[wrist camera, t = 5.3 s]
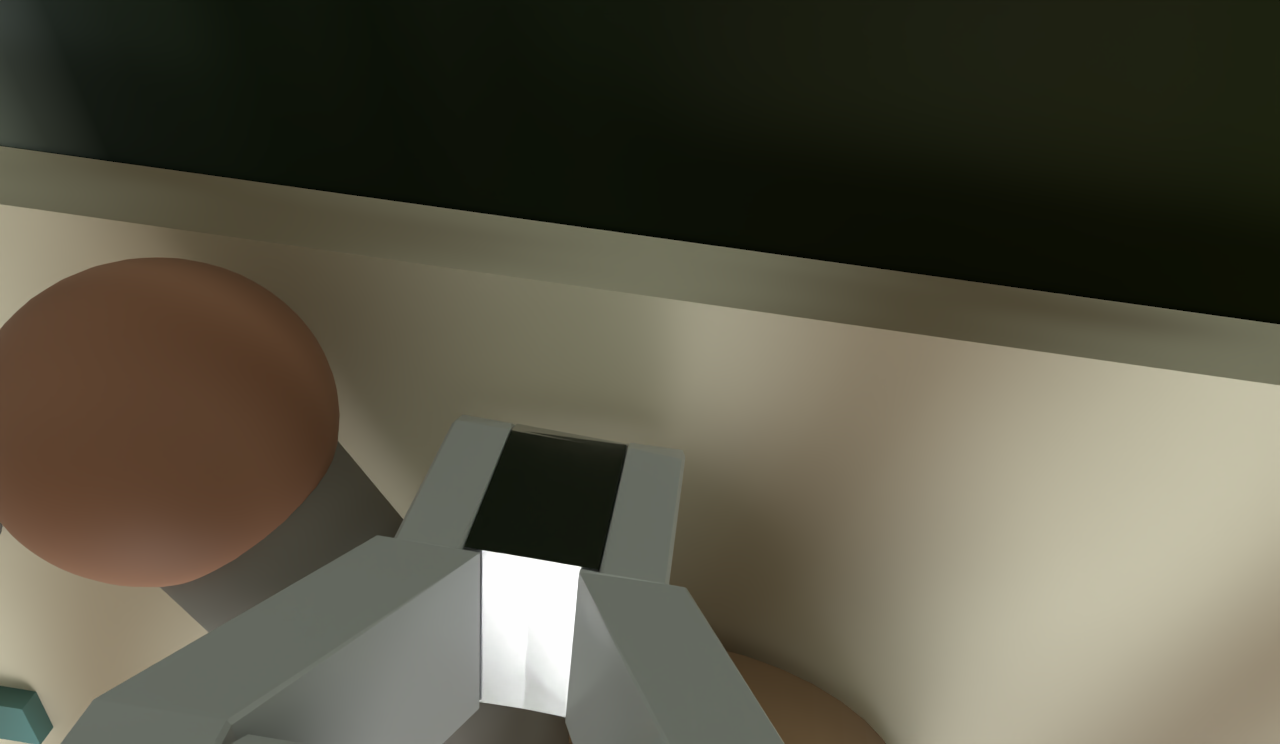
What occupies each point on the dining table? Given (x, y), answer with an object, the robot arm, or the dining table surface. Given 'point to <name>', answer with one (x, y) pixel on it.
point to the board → (754, 451)
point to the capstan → (223, 462)
